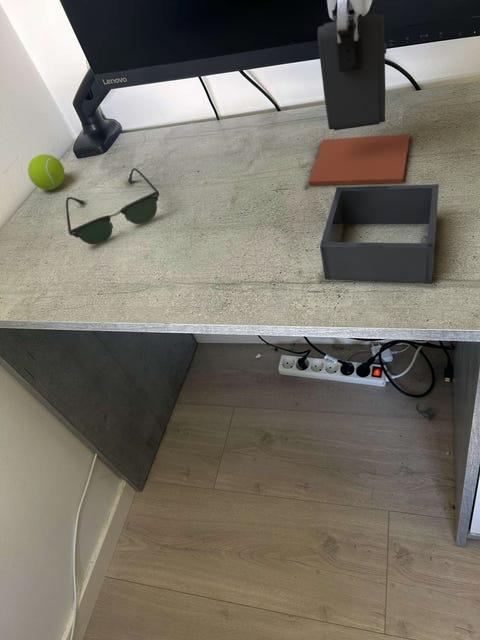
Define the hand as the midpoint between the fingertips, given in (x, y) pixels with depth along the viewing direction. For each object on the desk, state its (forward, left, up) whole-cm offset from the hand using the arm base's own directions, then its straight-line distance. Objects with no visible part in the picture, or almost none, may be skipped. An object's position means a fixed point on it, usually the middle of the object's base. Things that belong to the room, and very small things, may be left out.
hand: (353, 60), depth 71 cm
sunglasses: (+43, +13, -17) cm, 48 cm away
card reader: (0, 0, -10) cm, 10 cm away
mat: (0, 0, -17) cm, 17 cm away
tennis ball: (+63, +4, -17) cm, 65 cm away
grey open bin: (-6, +22, -17) cm, 28 cm away
